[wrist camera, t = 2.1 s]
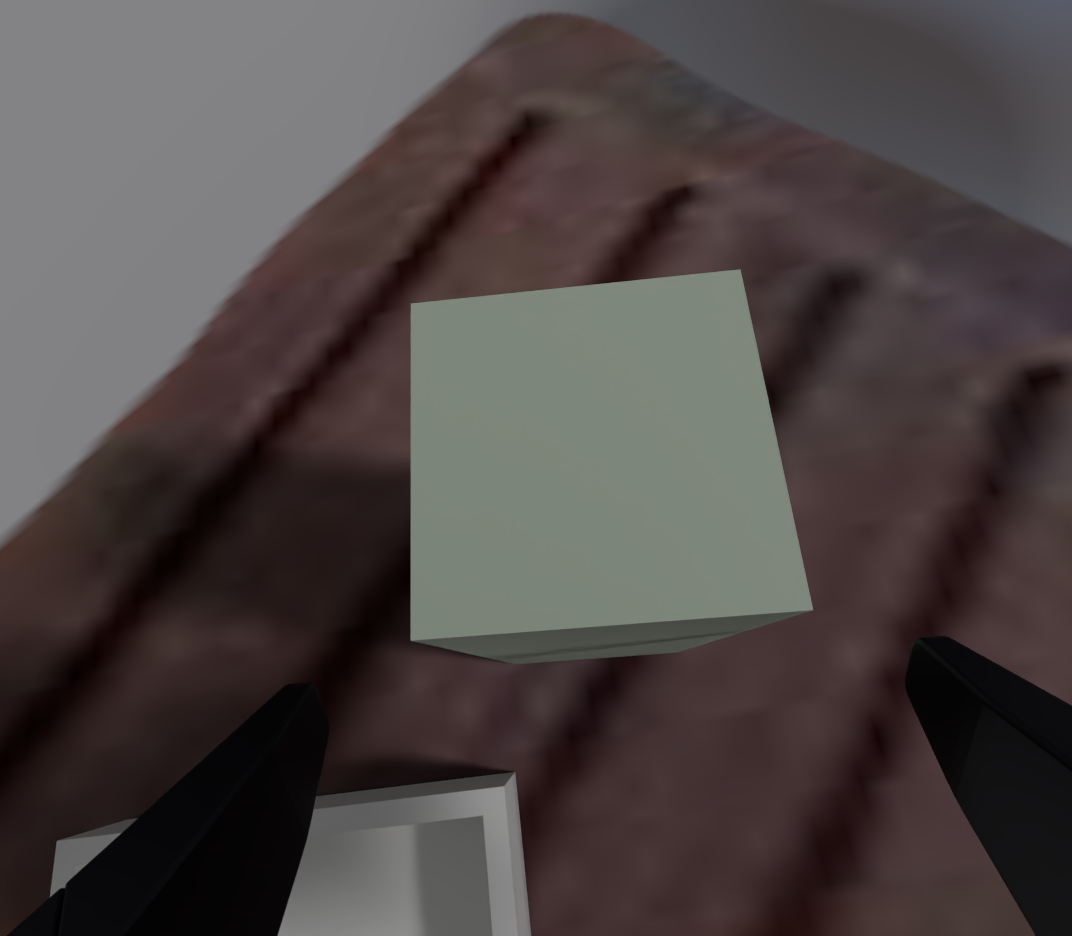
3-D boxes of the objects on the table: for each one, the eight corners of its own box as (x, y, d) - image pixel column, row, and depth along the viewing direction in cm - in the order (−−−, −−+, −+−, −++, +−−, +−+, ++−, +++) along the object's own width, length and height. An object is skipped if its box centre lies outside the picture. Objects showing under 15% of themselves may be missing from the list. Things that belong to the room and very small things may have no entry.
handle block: (676, 652, 19) (813, 610, 7) (514, 664, 19) (411, 640, 8) (654, 496, 20) (740, 269, 9) (506, 509, 21) (410, 303, 9)
